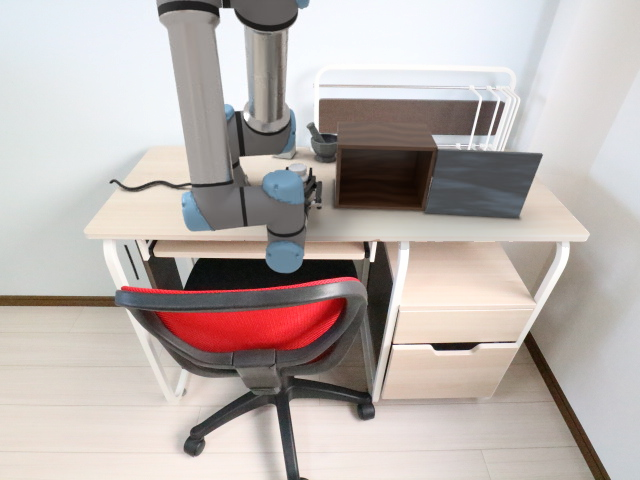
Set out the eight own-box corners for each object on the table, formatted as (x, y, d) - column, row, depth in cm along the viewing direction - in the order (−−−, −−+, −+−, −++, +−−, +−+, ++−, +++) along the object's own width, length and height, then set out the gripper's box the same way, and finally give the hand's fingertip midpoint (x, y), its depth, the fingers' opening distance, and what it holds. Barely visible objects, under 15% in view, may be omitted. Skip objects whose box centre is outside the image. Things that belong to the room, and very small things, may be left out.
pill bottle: (312, 202, 104) (312, 168, 98) (294, 207, 102) (293, 174, 96) (301, 193, 108) (301, 160, 102) (284, 198, 106) (282, 165, 100)
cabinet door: (422, 201, 106) (434, 140, 96) (511, 205, 105) (533, 144, 95) (425, 213, 101) (439, 150, 91) (518, 218, 100) (543, 154, 90)
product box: (296, 152, 132) (295, 131, 127) (291, 159, 127) (290, 138, 123) (279, 150, 133) (278, 129, 128) (273, 157, 128) (272, 136, 124)
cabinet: (424, 211, 103) (438, 147, 92) (334, 208, 103) (337, 144, 92) (415, 182, 115) (425, 123, 105) (335, 180, 116) (337, 121, 105)
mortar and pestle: (340, 153, 131) (342, 118, 124) (339, 165, 124) (341, 129, 117) (308, 151, 132) (307, 117, 125) (305, 163, 125) (304, 127, 117)
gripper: (251, 230, 89) (266, 182, 108) (331, 233, 89) (332, 184, 108) (248, 202, 85) (264, 157, 103) (333, 205, 85) (333, 160, 103)
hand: (299, 171), depth 105 cm, fingers closed on pill bottle, 6 cm apart
